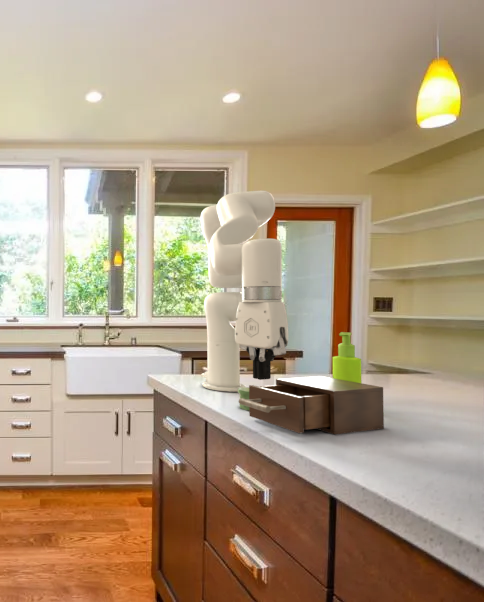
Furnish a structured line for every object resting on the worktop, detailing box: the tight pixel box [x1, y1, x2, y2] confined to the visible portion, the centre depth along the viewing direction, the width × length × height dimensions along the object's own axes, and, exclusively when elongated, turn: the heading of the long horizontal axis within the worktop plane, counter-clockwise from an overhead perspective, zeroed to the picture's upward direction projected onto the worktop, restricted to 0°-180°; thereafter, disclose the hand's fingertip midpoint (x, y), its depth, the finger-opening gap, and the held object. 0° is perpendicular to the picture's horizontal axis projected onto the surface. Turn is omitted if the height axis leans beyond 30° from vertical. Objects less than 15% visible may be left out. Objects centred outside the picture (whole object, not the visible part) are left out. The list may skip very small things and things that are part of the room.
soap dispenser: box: [331, 331, 362, 383], centre depth 98 cm, size 6×7×20 cm
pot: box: [237, 386, 249, 411], centre depth 97 cm, size 5×5×5 cm
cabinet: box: [275, 375, 385, 436], centre depth 86 cm, size 15×14×9 cm
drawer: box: [238, 384, 331, 434], centre depth 82 cm, size 19×12×7 cm, turn 105°
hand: (261, 378), depth 81 cm, fingers closed
